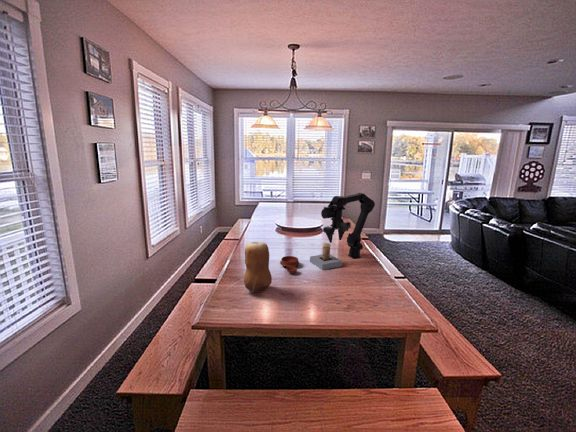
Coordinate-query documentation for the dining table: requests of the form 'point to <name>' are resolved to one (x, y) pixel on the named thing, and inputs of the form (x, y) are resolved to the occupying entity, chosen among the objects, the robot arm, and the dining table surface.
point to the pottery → (290, 263)
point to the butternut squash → (257, 267)
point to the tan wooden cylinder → (326, 252)
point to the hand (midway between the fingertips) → (335, 241)
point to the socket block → (325, 262)
